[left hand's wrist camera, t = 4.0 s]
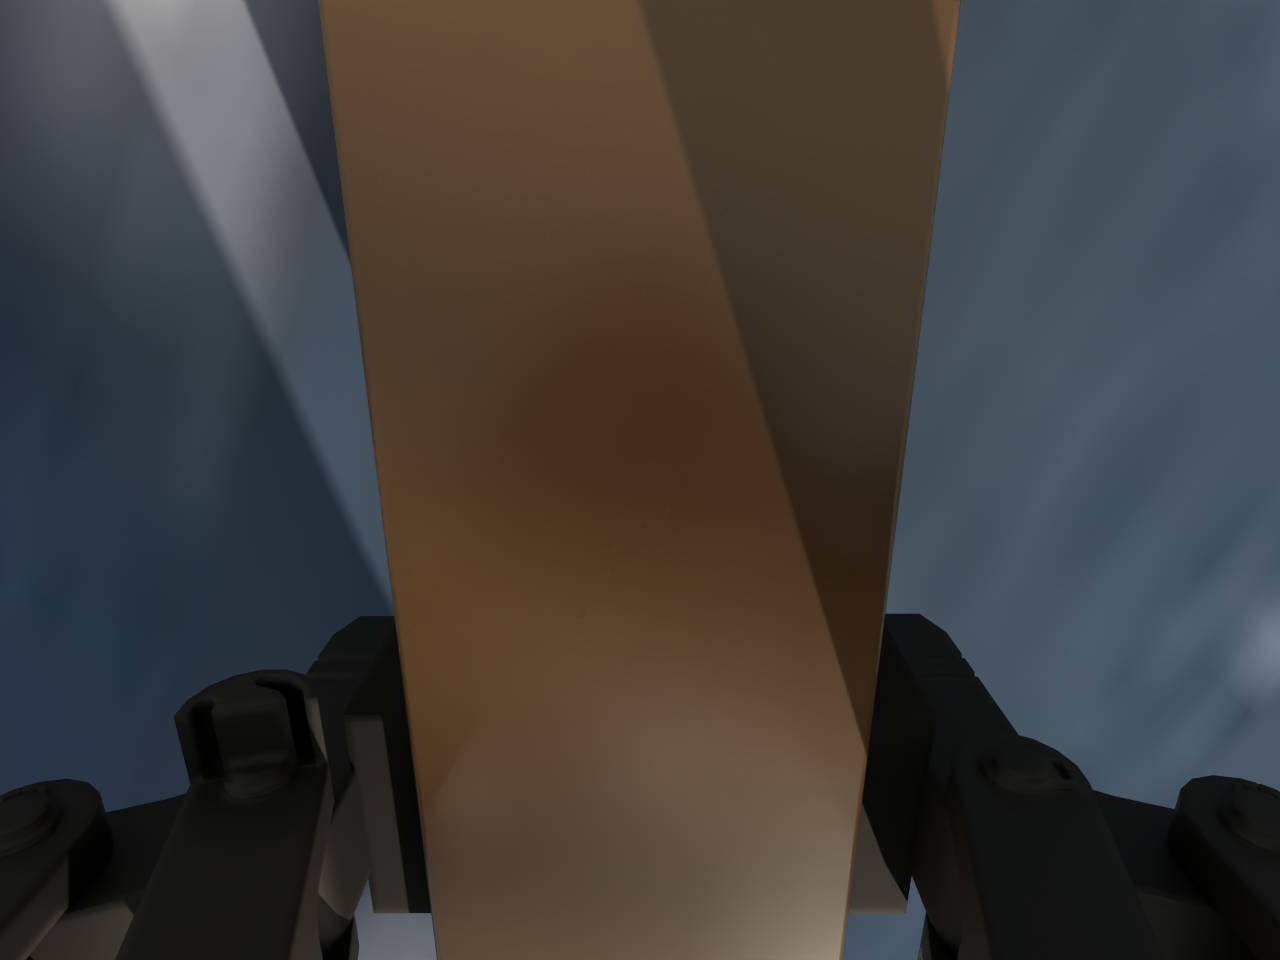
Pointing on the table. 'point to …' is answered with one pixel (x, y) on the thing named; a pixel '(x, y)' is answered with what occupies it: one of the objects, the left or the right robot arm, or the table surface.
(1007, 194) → the table surface
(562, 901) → the bar
